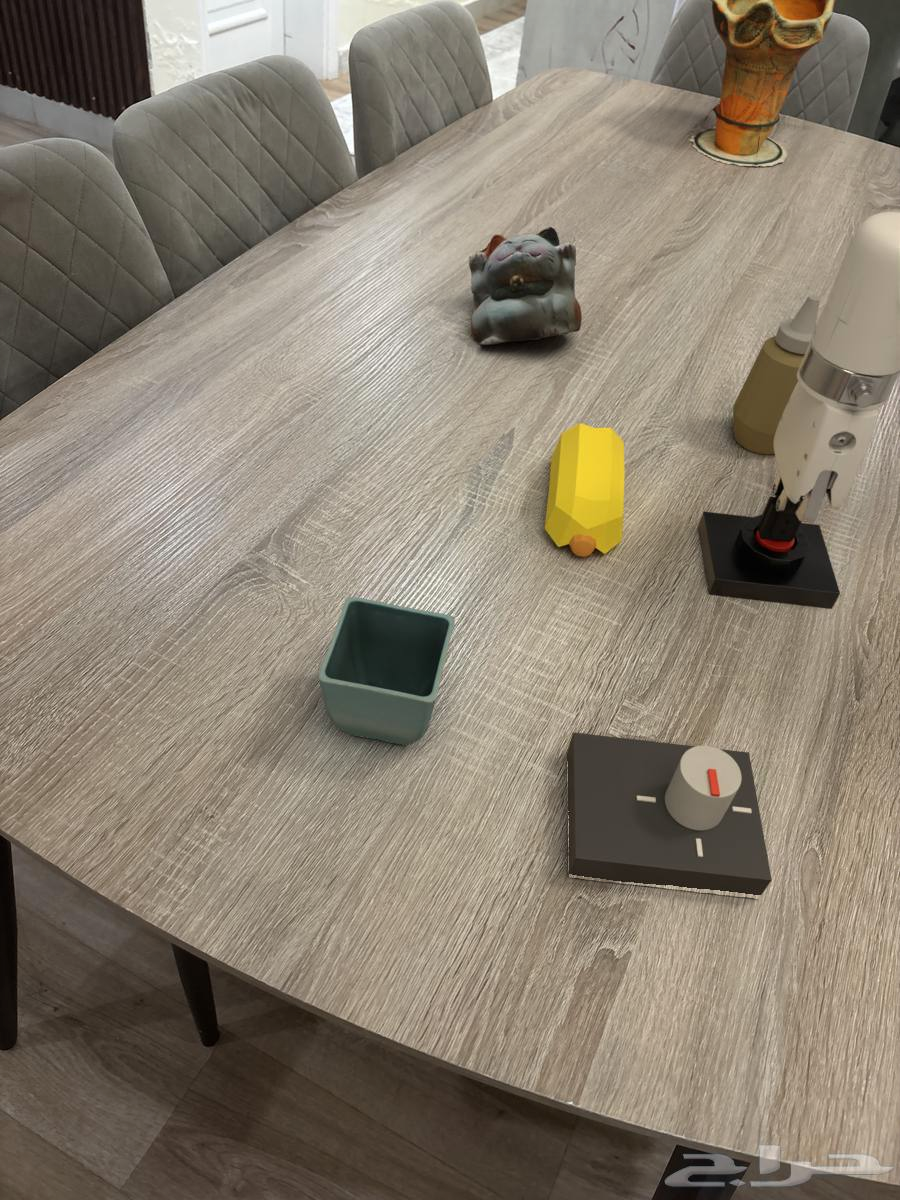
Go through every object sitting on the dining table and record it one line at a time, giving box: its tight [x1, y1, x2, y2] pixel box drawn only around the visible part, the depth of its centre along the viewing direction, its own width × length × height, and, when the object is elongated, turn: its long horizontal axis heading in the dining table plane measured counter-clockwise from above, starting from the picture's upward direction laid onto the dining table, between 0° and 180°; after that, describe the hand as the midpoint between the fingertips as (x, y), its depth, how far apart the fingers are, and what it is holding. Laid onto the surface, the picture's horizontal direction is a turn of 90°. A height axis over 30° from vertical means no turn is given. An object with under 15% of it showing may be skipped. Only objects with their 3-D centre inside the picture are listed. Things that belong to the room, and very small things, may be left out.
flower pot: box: [318, 596, 456, 746], centre depth 74 cm, size 9×9×9 cm
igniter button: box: [755, 530, 795, 552], centre depth 92 cm, size 4×4×2 cm
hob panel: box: [566, 731, 773, 896], centre depth 71 cm, size 14×11×3 cm
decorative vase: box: [688, 0, 836, 168], centre depth 165 cm, size 21×23×28 cm
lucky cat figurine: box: [468, 226, 583, 347], centre depth 118 cm, size 15×12×14 cm
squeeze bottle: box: [732, 294, 821, 455], centre depth 103 cm, size 8×8×18 cm
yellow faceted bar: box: [544, 422, 626, 558], centre depth 96 cm, size 18×7×8 cm
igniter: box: [697, 511, 841, 610], centre depth 93 cm, size 12×10×4 cm
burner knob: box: [665, 745, 742, 831], centre depth 68 cm, size 4×4×5 cm
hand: (773, 534), depth 91 cm, fingers closed
